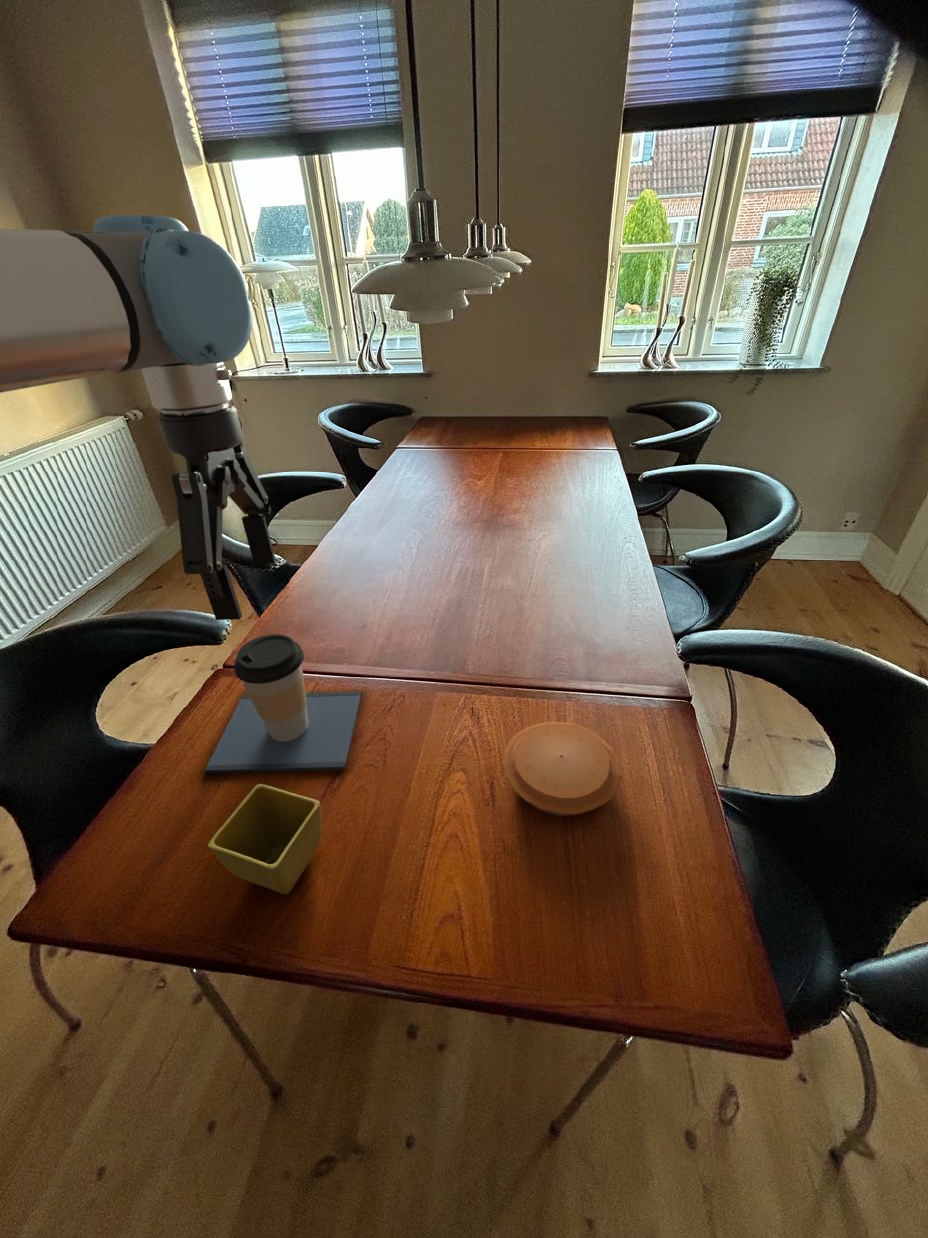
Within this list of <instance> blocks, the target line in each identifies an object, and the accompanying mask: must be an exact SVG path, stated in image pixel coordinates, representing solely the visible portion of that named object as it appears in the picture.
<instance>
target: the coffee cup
mask: <svg viewBox="0 0 928 1238" xmlns="http://www.w3.org/2000/svg"><path fill="white" fill-rule="evenodd" d="M304 659H305V653H304V651H303V649H302V647H301V645H300V644H299V643H298V642H296V641H295V640H294V639H293V638H291V636H288V635H286V634H280V633H274V634H266V635H261V636H257V637H256V638H253V639H251V640H249V641H247V642H246V643H245V644H243V645H242V646H241V648H239V649H238V651H237V653H236V658H235V660H234V663H233V668H234V669H233V671H234V674H235V676H236V677H237V679H239V680H240V681H242V682H243V686H244V689H245V691H246V693H247V695H249V697H250V699H251V701H252V703H253V705H254V707H255V709H256V711H257V713H258V715H259V716H260V717H261V718H262V720H263V722H264V724H265V726H266V728H267V730H268V732H269V734H270V736H271V737H272V738H273V739H274V740H277V741H280V742H287V741H291V740H293V739H296V738H298V737H299V736H301V735H302V734H303V733H304V732H305V731H306V730H307V728H308V717H307V709H306V693H307V692H306V685H305V679H304V671H303V668H302V664H303V662H304Z"/></svg>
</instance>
